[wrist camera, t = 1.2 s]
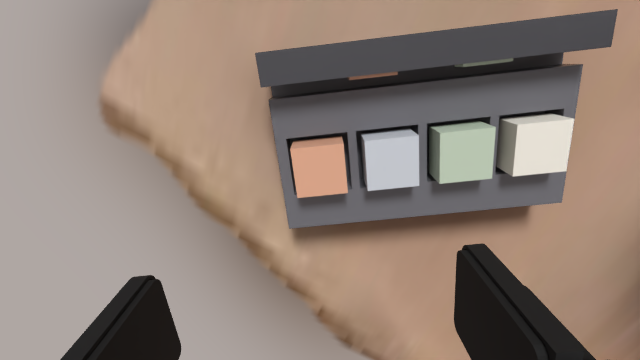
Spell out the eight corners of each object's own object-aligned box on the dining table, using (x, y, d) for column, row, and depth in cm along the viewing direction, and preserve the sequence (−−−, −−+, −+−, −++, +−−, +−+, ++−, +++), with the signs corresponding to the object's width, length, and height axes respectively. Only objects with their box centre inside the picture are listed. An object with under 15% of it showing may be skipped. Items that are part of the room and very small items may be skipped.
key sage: (479, 120, 24) (495, 127, 21) (476, 167, 25) (492, 178, 23) (429, 126, 24) (440, 133, 22) (428, 172, 25) (439, 183, 23)
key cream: (550, 113, 23) (574, 118, 21) (543, 161, 25) (566, 171, 22) (498, 118, 24) (517, 124, 21) (495, 166, 25) (512, 176, 23)
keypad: (553, 20, 24) (617, 9, 19) (533, 186, 28) (581, 214, 23) (269, 54, 25) (255, 52, 20) (292, 209, 29) (286, 241, 24)
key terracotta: (341, 135, 24) (343, 143, 22) (345, 181, 25) (347, 193, 23) (293, 141, 24) (290, 149, 22) (299, 185, 25) (297, 198, 23)
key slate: (409, 128, 24) (418, 135, 22) (410, 174, 25) (419, 185, 23) (360, 133, 24) (364, 141, 22) (363, 179, 25) (367, 191, 23)
